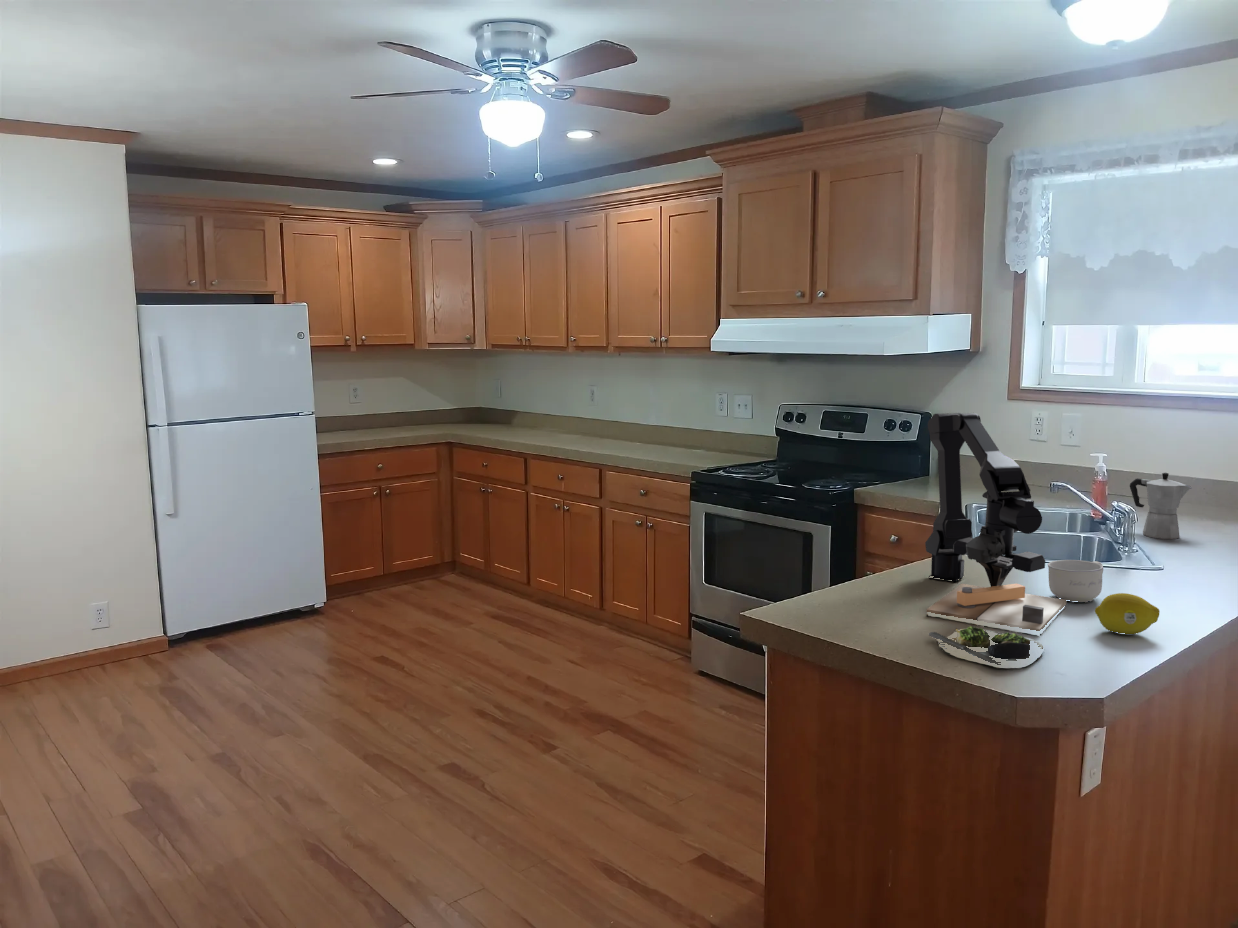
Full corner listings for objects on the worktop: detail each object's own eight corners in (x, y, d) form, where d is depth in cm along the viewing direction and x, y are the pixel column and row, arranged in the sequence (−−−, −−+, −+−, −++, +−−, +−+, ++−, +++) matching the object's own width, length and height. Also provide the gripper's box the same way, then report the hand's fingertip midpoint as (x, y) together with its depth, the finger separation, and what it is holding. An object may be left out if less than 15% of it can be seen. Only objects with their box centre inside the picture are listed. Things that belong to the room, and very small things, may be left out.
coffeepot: (1192, 536, 252) (1197, 473, 250) (1182, 542, 246) (1187, 477, 243) (1132, 528, 263) (1136, 467, 261) (1121, 533, 257) (1125, 471, 254)
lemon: (1091, 635, 174) (1094, 595, 173) (1095, 623, 181) (1098, 585, 180) (1156, 644, 169) (1159, 603, 167) (1158, 632, 175) (1161, 593, 174)
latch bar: (964, 605, 187) (965, 590, 187) (956, 602, 190) (957, 587, 189) (1024, 597, 192) (1025, 582, 192) (1016, 594, 194) (1016, 579, 194)
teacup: (1071, 608, 191) (1073, 572, 189) (1035, 594, 201) (1036, 559, 200) (1124, 602, 194) (1127, 566, 193) (1086, 588, 205) (1088, 554, 203)
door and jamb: (926, 616, 187) (927, 595, 187) (961, 589, 205) (961, 570, 205) (1039, 636, 174) (1040, 614, 173) (1066, 606, 192) (1067, 586, 191)
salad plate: (910, 653, 167) (910, 629, 167) (949, 629, 180) (950, 607, 180) (1016, 679, 154) (1018, 653, 154) (1051, 651, 167) (1052, 627, 167)
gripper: (938, 518, 195) (934, 587, 198) (1016, 536, 179) (1011, 611, 182) (971, 512, 201) (966, 579, 204) (1049, 529, 185) (1043, 601, 188)
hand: (995, 592), depth 194 cm, fingers closed
